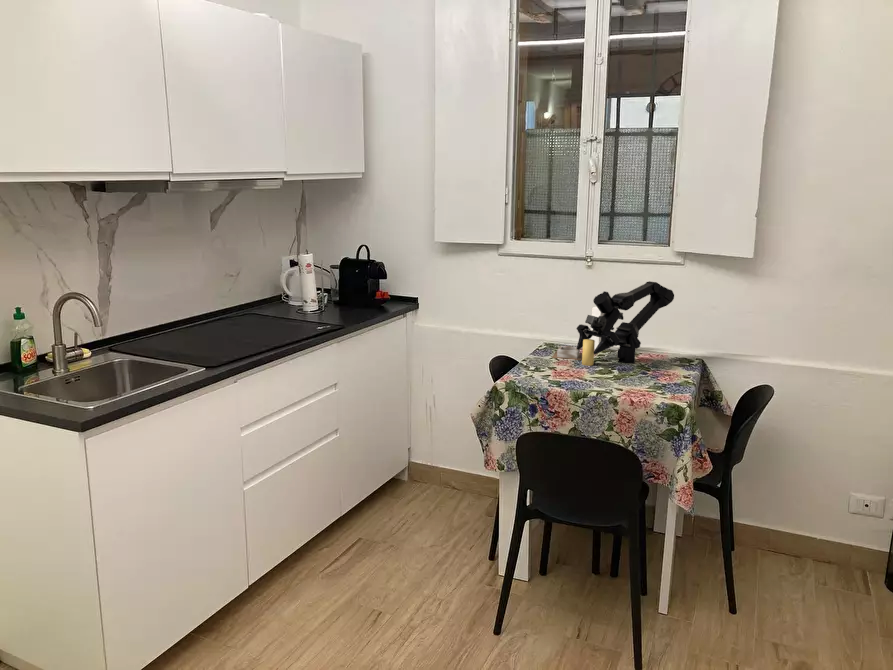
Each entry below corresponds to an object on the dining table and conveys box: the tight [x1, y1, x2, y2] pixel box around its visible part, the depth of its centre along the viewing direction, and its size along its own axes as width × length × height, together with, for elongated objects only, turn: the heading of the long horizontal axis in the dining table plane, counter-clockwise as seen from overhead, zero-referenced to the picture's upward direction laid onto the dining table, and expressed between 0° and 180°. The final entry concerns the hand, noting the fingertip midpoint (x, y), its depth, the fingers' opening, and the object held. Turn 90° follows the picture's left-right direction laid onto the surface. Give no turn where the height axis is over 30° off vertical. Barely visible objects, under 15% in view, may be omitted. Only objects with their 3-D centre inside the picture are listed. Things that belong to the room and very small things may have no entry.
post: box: [581, 338, 595, 367], centre depth 276 cm, size 4×4×11 cm
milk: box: [590, 305, 612, 351], centre depth 303 cm, size 6×6×22 cm
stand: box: [551, 345, 582, 361], centre depth 290 cm, size 12×12×4 cm
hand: (585, 351), depth 274 cm, fingers open, 9 cm apart
